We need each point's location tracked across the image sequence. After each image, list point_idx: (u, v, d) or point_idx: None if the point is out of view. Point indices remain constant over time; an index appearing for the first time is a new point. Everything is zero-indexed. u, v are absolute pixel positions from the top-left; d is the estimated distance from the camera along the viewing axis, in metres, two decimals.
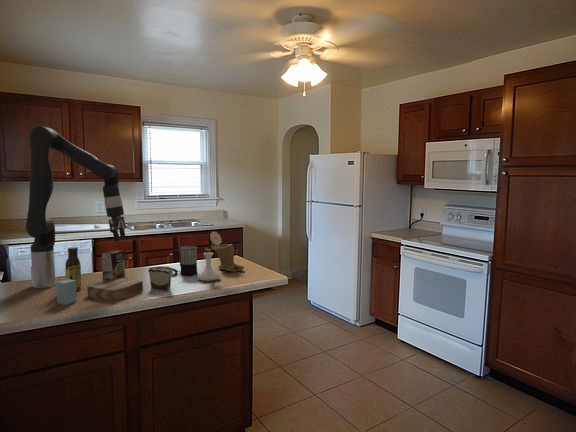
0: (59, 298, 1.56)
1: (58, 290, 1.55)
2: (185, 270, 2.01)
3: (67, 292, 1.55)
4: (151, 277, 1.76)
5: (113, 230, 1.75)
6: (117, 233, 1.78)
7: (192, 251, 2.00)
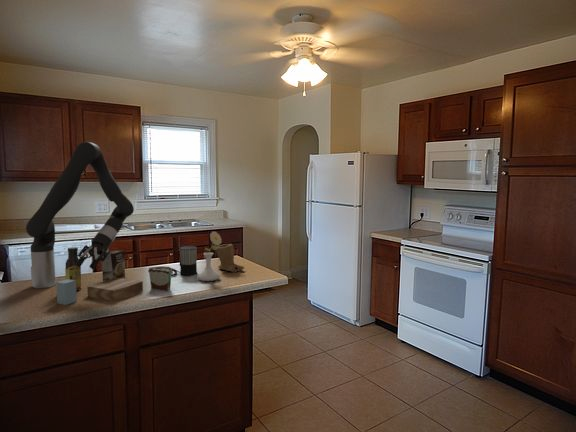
0: (59, 298, 1.56)
1: (58, 290, 1.55)
2: (184, 270, 2.00)
3: (67, 292, 1.55)
4: (151, 277, 1.76)
5: (103, 258, 1.65)
6: (97, 262, 1.65)
7: (192, 251, 2.00)
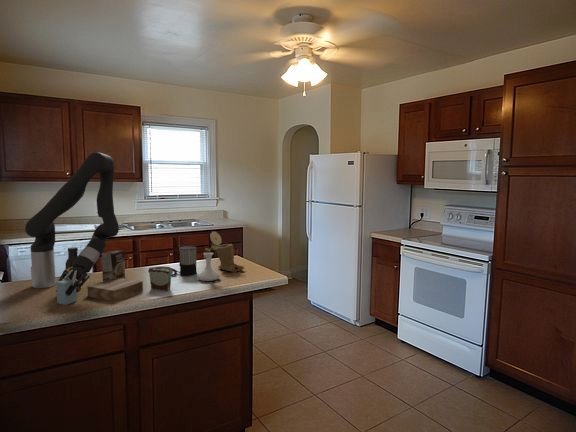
0: (59, 298, 1.55)
1: (58, 290, 1.55)
2: (184, 270, 2.00)
3: None
4: (151, 277, 1.76)
5: (79, 284, 1.56)
6: (74, 288, 1.57)
7: (191, 251, 2.00)
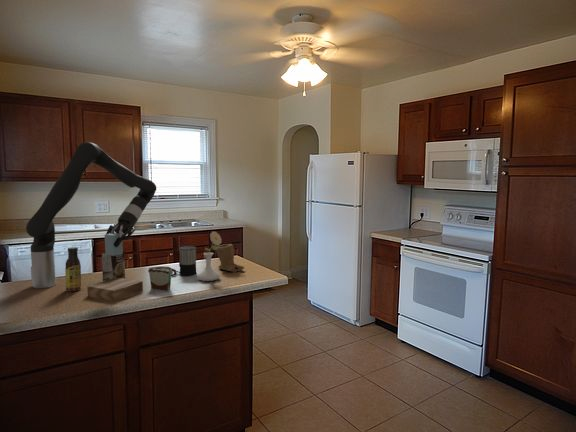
0: (107, 250, 1.66)
1: (106, 242, 1.65)
2: (184, 270, 2.00)
3: None
4: (151, 277, 1.76)
5: (126, 237, 1.67)
6: None
7: (191, 251, 2.00)
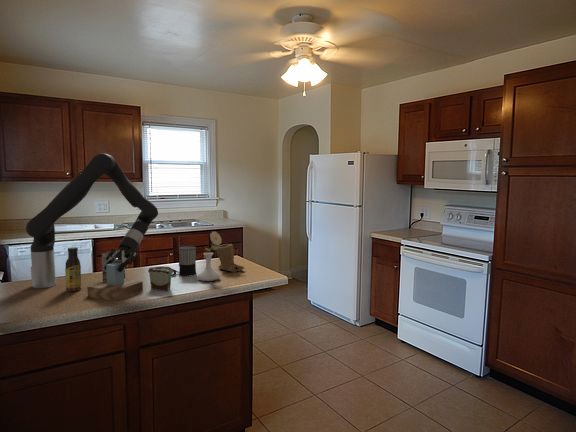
0: (109, 279, 1.67)
1: (108, 272, 1.67)
2: (183, 270, 2.00)
3: (116, 274, 1.67)
4: (151, 277, 1.76)
5: (130, 262, 1.68)
6: (124, 266, 1.68)
7: (191, 251, 2.00)
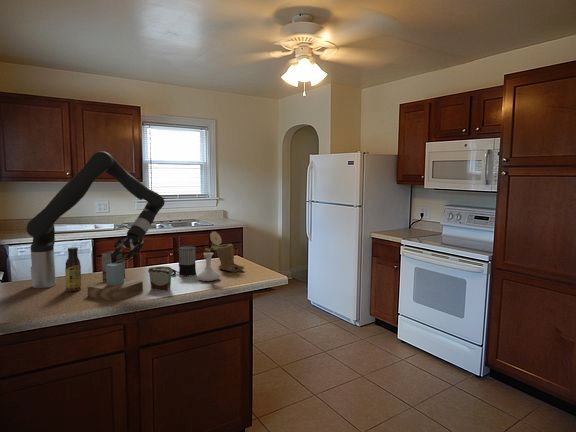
0: (108, 280, 1.67)
1: (107, 272, 1.67)
2: (183, 270, 2.00)
3: (116, 274, 1.66)
4: (151, 277, 1.76)
5: (138, 249, 1.72)
6: None
7: (191, 251, 2.00)
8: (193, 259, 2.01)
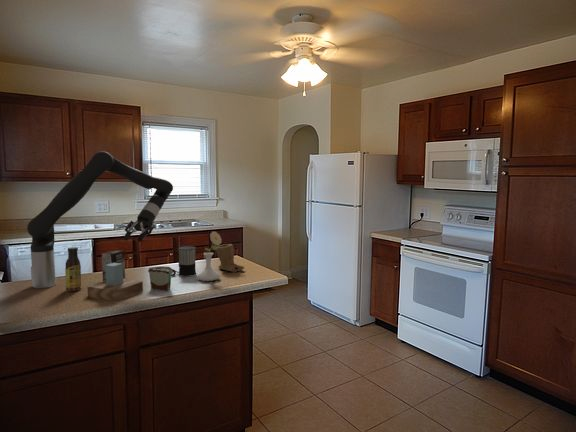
0: (108, 280, 1.67)
1: (107, 272, 1.67)
2: (183, 270, 2.00)
3: (116, 274, 1.66)
4: (151, 277, 1.76)
5: (149, 232, 1.77)
6: None
7: (190, 251, 2.00)
8: (193, 259, 2.01)
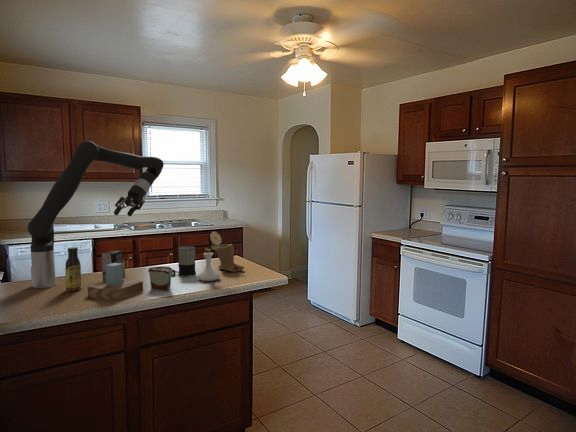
0: (108, 280, 1.67)
1: (107, 272, 1.67)
2: (183, 271, 2.00)
3: (116, 274, 1.66)
4: (151, 277, 1.76)
5: (139, 207, 1.77)
6: (134, 210, 1.78)
7: (190, 251, 1.99)
8: (193, 259, 2.01)
